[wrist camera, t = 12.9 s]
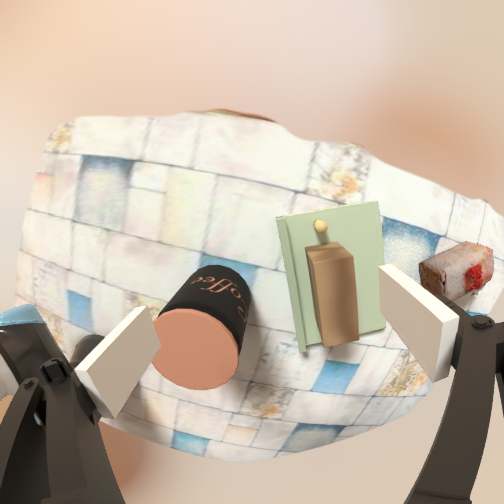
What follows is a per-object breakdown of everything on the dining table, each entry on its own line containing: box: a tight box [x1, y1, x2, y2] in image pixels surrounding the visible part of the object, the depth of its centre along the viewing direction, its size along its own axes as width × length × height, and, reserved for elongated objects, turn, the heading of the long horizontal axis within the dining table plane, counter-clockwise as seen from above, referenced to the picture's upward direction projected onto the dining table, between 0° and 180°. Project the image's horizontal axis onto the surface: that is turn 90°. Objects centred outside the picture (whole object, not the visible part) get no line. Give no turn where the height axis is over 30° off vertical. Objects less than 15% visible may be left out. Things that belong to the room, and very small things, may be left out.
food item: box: [419, 241, 494, 301], centre depth 37 cm, size 14×8×10 cm, turn 110°
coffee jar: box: [151, 265, 250, 390], centre depth 37 cm, size 11×11×18 cm
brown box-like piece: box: [305, 241, 359, 347], centre depth 38 cm, size 5×12×9 cm, turn 12°
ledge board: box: [276, 200, 386, 353], centre depth 41 cm, size 16×22×4 cm
